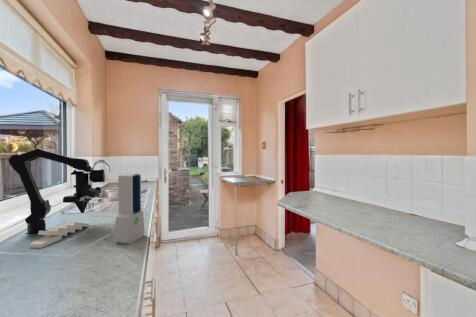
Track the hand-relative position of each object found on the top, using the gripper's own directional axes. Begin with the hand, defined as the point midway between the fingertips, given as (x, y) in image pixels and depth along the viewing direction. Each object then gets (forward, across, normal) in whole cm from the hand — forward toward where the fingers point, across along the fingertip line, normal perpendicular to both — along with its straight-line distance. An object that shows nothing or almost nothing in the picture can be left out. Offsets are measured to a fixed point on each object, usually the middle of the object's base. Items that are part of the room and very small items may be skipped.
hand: (82, 212), depth 122 cm
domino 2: (+7, -17, -1) cm, 18 cm away
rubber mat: (+8, -8, 0) cm, 11 cm away
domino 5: (+7, +1, 0) cm, 7 cm away
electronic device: (+8, -13, -33) cm, 36 cm away
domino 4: (+7, -4, 0) cm, 8 cm away
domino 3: (+7, -8, 0) cm, 11 cm away
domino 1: (+7, -13, 0) cm, 14 cm away
